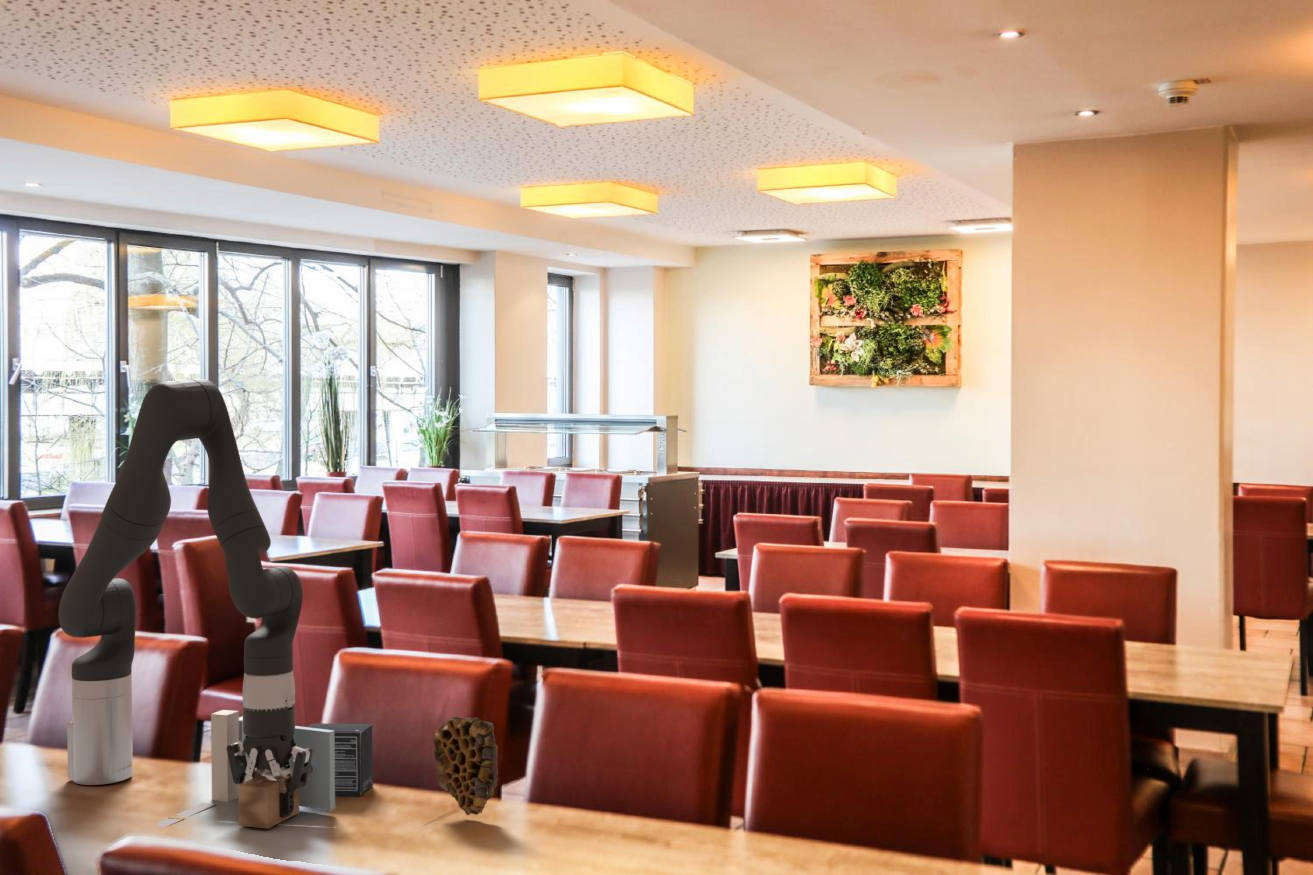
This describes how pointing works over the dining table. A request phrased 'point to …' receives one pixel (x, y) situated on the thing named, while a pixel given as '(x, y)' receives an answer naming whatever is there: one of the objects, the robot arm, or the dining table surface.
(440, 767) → the brown wasp nest
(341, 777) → the small box
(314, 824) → the dining table surface
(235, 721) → the door frame
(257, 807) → the block
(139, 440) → the robot arm
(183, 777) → the dining table surface
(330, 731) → the door
